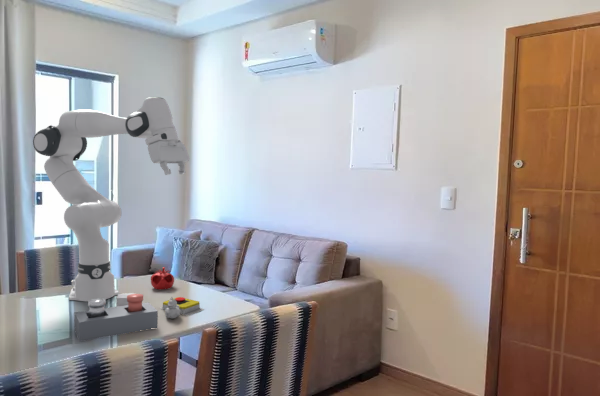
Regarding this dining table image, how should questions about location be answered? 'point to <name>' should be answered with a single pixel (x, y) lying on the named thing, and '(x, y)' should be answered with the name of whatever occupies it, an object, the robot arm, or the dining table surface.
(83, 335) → the block
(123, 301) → the light grey cube
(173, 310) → the grey figurine
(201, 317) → the dining table surface
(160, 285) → the pomegranate
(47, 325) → the dining table surface
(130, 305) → the red plunger
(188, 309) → the emergency button
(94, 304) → the grey plunger
